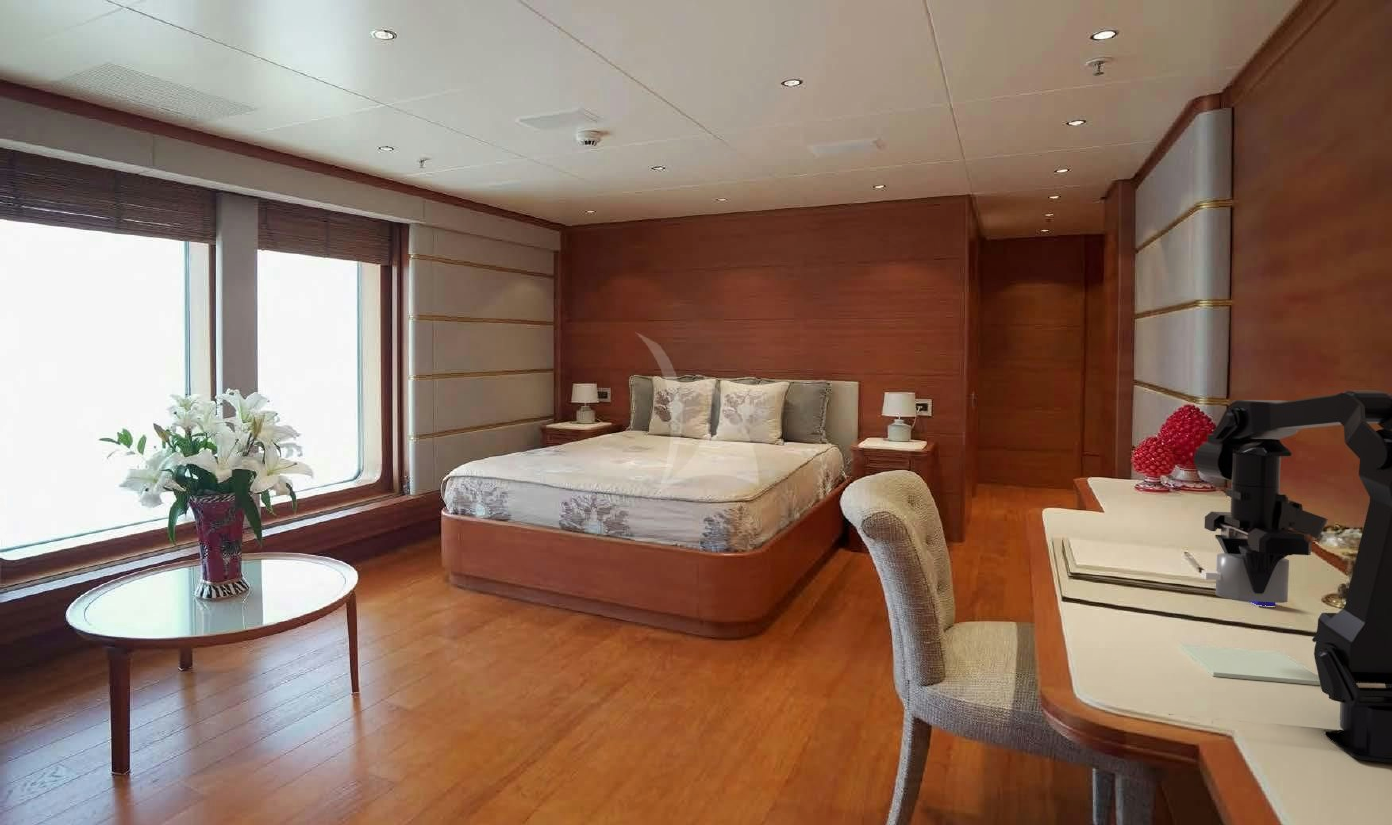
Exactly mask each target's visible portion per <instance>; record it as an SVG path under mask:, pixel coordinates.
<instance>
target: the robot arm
mask: <svg viewBox="0 0 1392 825" xmlns="http://www.w3.org/2000/svg"><path fill="white" fill-rule="evenodd" d="M1370 424H1377V425H1378V426H1379V427H1381V429H1377V430H1375V429H1374V428H1373V427H1372V426H1371V425H1370ZM1332 426H1334V427H1335V426H1343V430H1344V431H1343V432H1344V433H1343V435H1344V436H1343V438H1344V443H1345V445H1346V446H1347V447H1348V448H1349V449H1350V450H1351V451H1352V452H1353V453H1354V455H1355V456H1357V458H1358V459H1359V468H1358V477H1359V478H1360V481H1361V483H1362V484H1363V486H1364V488H1365V491H1366V492H1367V494H1368V497H1369V503H1368V508H1367V512H1366V516H1365V520H1364V525H1363V529H1362V533H1361V537H1360V541H1359V544H1358V549H1357V552H1356V553H1357V554H1356V557H1355V562H1354V566H1353V571H1352V574H1351V578H1350V582H1349V586H1348V591H1347V595H1346V599H1345V604H1344V606H1343V608H1341V609H1340V610H1339V611H1338V612H1322V613H1321V614H1320V615H1319V617H1318V618H1317V629H1316V632H1315V635H1314V636H1313V637H1312V639H1311V641H1312V642H1313V643H1315V645H1314V652H1313V655H1314V656H1313V658H1314V662H1315V666H1316V670H1317V675H1318V676H1319V680H1320V685H1319V686H1320V690H1321V692H1322V693H1324V694H1326V695H1328V700H1332V701H1334V702H1338V703H1340V705H1339V727H1340V728H1341V729H1339V732H1338V731H1324V732H1325V733H1324V736H1325V737H1327V738H1328V739H1329V740H1330V741H1332V743H1334V744H1335V745H1337V746H1338V747H1340V749H1341V750H1343V751H1344V752H1346V753H1347V754H1348V755H1349V756H1350V757H1352V758H1354V759H1356V760H1362V761H1369V762H1371V761H1372V762H1380V763H1391V764H1392V395H1391V394H1389V393H1387V392H1384V391H1382V390H1345V391H1343V392H1340V393H1338V394H1337V393H1336V394H1330V395H1329V394H1328V395H1324V396H1323V395H1321V396H1316V397H1309V398H1303V399H1294V400H1281V399H1275V400H1274V399H1272V400H1271V399H1236V400H1233V401H1231V402H1230V403H1229V405H1228V408H1226V410H1225V412H1224V413H1223V415H1222V417H1221V418H1220V421H1219V422H1218V423H1217V425H1216V426H1215V428H1214V429H1213V431H1212V432H1211V433H1212V434H1211V433H1210V434H1207V437H1206V438H1207V439H1206V441H1205V442H1204V443H1202V444H1200V446H1198V448H1197V449H1196V450H1195V453H1194V455H1193V463H1194V466H1195V468H1196V470H1197V471H1199V472H1200V473H1201V474H1203V475H1204V476H1207V477H1208V476H1209V477H1214V478H1217V479H1224V480H1228V481H1231V485H1230V486H1231V487H1230V488H1225V493H1224V494H1225V496H1227V497H1229V498H1230V511H1210V512H1209V513H1208V514H1206V515H1205V516H1204V529H1206V530H1208V531H1210V532H1217V530H1220V534H1215V535H1214V537H1215V539H1217V541H1218V543H1219V545H1220V547H1221V549H1222V551H1223V553H1227V554H1241V555H1242V558H1243V561H1244V565H1245V568H1246V571H1247V574H1248V577H1249V580H1250V583H1251V586H1252V589H1253V591H1254V593H1257V594H1263V593H1264V591H1265V589H1266V586H1267V584H1268V582H1269V580H1270V577H1271V575H1272V573H1273V571H1274V569H1275V567H1276V565H1277V563H1278V562H1279V561H1280V560H1281V559H1283V558H1285V559H1286V557H1288V556H1295V555H1297V556H1311V555H1312V540H1310V538H1309V537H1308V536H1310V537H1311V538H1314V539H1317V540H1319V539H1320V536H1321V534H1322V532H1323V531H1324V528H1325V526H1326V524H1327V523H1328V520H1329V519H1328V518H1326V517H1323V516H1320V515H1319V514H1318V515H1317V514H1314V513H1312V512H1308V511H1306V510H1303V509H1304V508H1303V504H1302V503H1300V502H1299V503H1298V502H1295V501H1293V500H1290V499H1289V498H1288V496H1287V495H1286V494H1285V493H1282V492H1280V486H1281V483H1280V480H1281V461H1282V457H1284V458H1287V457H1288V458H1291V456H1292V452H1291V450H1289V448H1287V447H1286V446H1285V445H1284V444H1283V443H1282V441H1281V439H1284V438H1287V437H1290V436H1293V435H1296V434H1297V433H1298V432H1299V431H1300V430H1303V429H1310V428H1321V427H1332ZM1358 684H1376V685H1377V684H1378V685H1382V684H1383V685H1384V686H1385V687H1362V686H1361V687H1360V686H1358Z"/></svg>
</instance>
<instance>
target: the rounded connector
mask: <svg viewBox="0 0 1392 825" xmlns="http://www.w3.org/2000/svg"><path fill="white" fill-rule="evenodd" d="M1289 571H1290V559H1287V558H1286V557H1285V558H1283V559H1281V560H1280V561H1279V562H1278V563H1277V565H1276V567H1275V569H1274V571H1273V573H1272V575H1271V577H1270V580H1269V582H1268V584H1267V586H1266V589H1265V591H1264V593H1263V594H1257V593H1254V591H1253V589H1252V586H1251V583H1250V580H1249V577H1248V574H1247V571H1246V568H1245V565H1244V561H1243V558H1242V555H1241V554H1227V553H1224V552H1223V553H1217V554H1216V570H1208V569H1207V570H1205V569H1201V578H1203V579H1205V580H1213V581H1215V583H1216V586H1215V596H1217V597H1220V598H1223V599H1227V600H1235V601H1246V602H1248V601H1261V602H1275V604H1276V603H1279V604H1280V603H1281V604H1282V603H1285V604H1286V603H1287V602H1288V596H1289V575H1290V573H1289Z"/></svg>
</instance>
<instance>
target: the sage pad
mask: <svg viewBox="0 0 1392 825" xmlns="http://www.w3.org/2000/svg"><path fill="white" fill-rule="evenodd" d="M1179 646H1180V647H1179V648H1180V649H1181V650H1182V651H1183V652H1184V653H1185V654H1187V655H1188V656H1189V657H1190V658H1191V659H1192V660H1194V661H1195V662H1196V663H1197V664H1198V665H1200V666H1201V667H1202V668H1203V669H1204V670H1205V671H1206V672H1208V673H1209V674H1210V675H1211V676H1213V677H1217V678H1229V679H1237V680H1238V679H1242V680H1251V681H1264V682H1273V683H1274V682H1275V683H1287V684H1288V683H1289V684H1300V685H1302V684H1303V685H1312V686H1321V685H1320V680H1319V676H1318V674H1316V673H1315V672H1313V671H1311V670H1310V669H1309V668H1307V667H1305V666H1304V665H1302V664H1301V663H1299V662H1298V661H1297V660H1295V659H1293V658H1292V657H1291V656H1288V655H1287V654H1285V653H1284V652H1283V651H1276V650H1275V651H1274V650H1264V649H1263V650H1262V649H1247V648H1238V647H1237V648H1236V647H1224V646H1211V645H1197V644H1187V643H1186V644H1185V643H1184V644H1183V643H1180V644H1179Z"/></svg>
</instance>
